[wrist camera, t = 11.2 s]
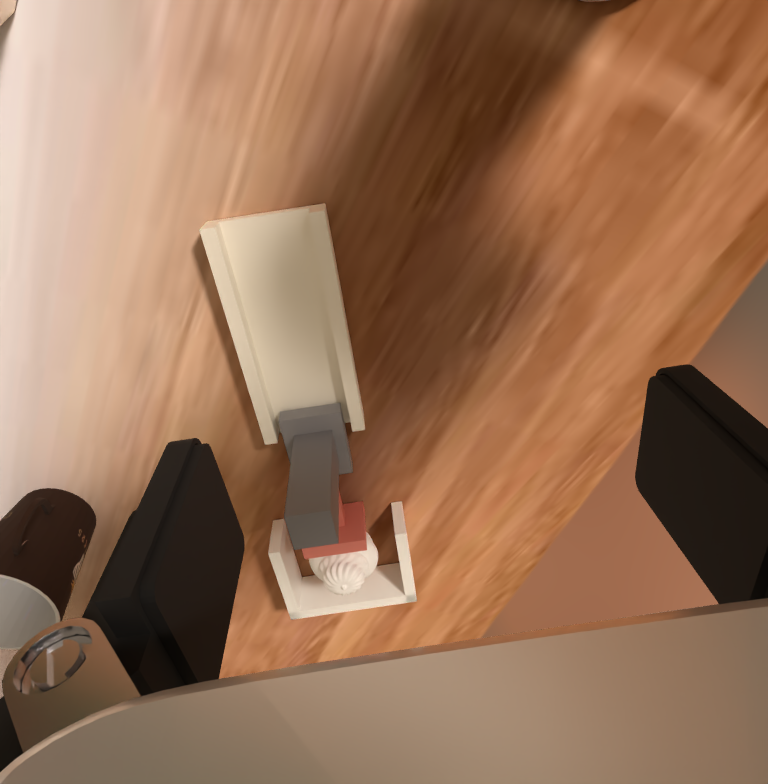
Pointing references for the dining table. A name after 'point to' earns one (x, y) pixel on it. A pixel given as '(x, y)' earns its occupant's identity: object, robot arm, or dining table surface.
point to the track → (285, 312)
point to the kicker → (320, 483)
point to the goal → (317, 600)
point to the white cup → (6, 9)
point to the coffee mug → (40, 561)
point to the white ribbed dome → (346, 569)
